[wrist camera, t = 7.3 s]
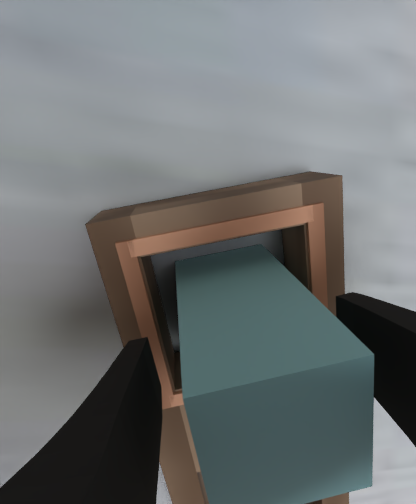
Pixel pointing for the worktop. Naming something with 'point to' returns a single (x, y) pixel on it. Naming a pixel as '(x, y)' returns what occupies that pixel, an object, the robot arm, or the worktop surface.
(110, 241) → the wooden double hole frame
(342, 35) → the worktop surface
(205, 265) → the peg
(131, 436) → the robot arm
